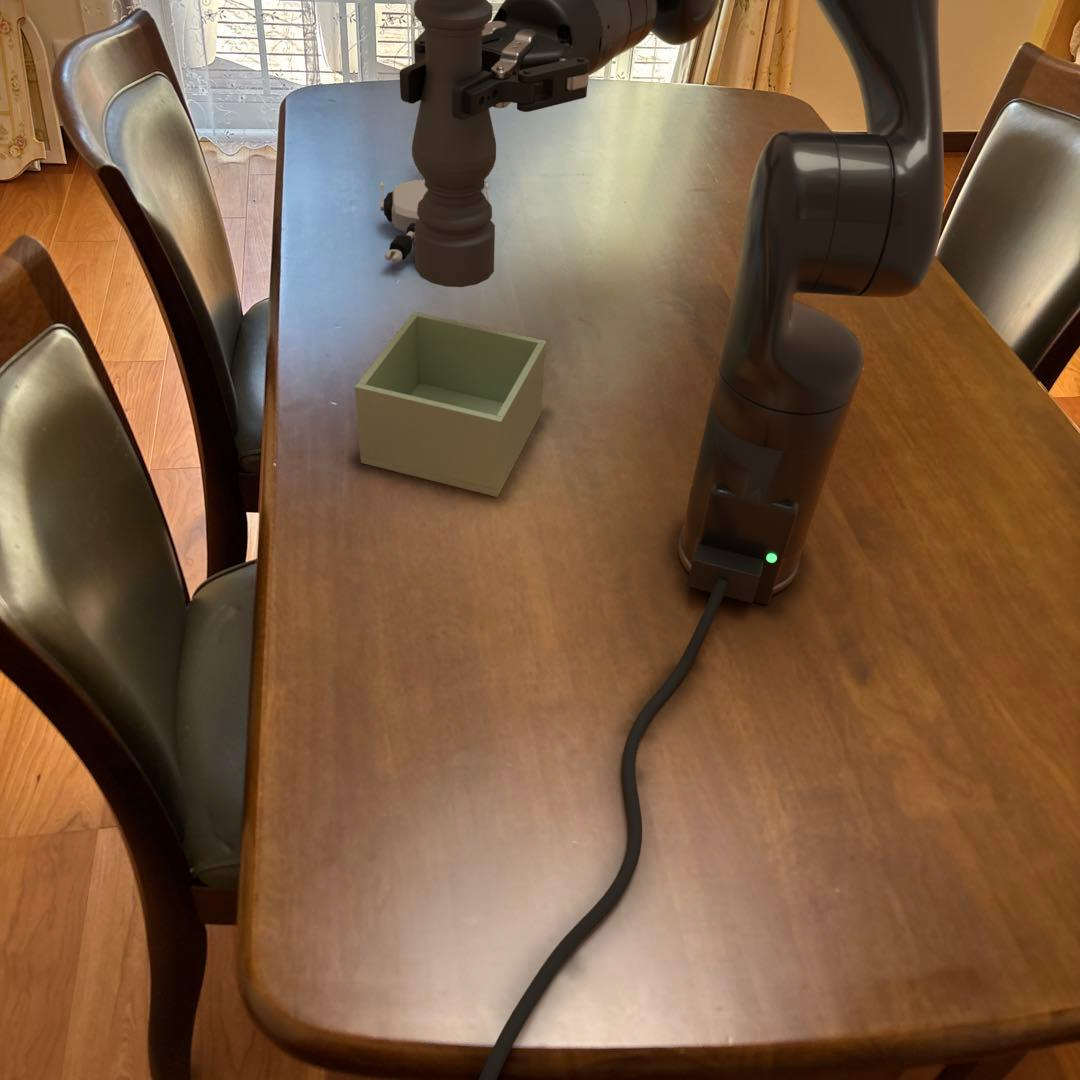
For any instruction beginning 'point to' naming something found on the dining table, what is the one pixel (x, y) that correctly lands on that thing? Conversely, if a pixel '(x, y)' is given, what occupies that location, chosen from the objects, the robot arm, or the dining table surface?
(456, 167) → the candle holder
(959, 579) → the dining table surface
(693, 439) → the dining table surface
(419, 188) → the robot toy
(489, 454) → the bin
